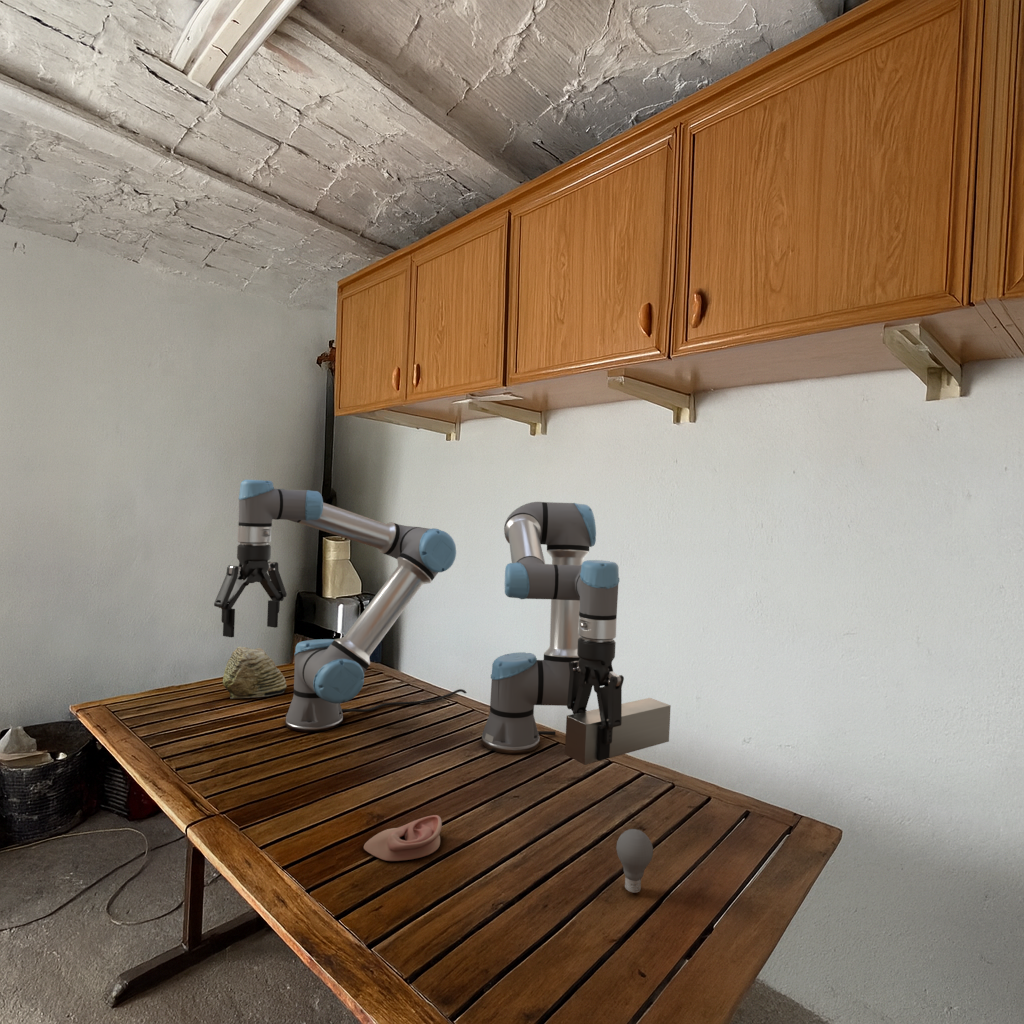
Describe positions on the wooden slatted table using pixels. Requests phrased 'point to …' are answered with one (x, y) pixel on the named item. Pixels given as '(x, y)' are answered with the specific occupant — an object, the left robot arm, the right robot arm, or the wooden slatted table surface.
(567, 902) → the wooden slatted table surface
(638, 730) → the bar
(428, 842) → the anatomical model
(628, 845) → the light bulb
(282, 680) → the fossil
